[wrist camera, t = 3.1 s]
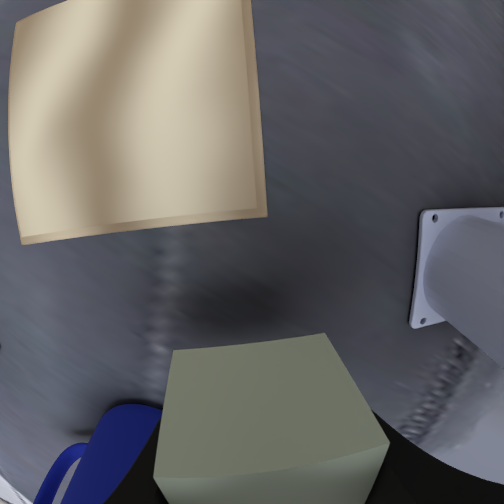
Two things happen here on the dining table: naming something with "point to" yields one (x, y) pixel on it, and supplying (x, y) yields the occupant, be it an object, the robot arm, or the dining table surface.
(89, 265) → the dining table surface
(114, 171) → the plinth
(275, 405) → the sage cube
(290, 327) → the dining table surface
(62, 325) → the dining table surface
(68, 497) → the mug
